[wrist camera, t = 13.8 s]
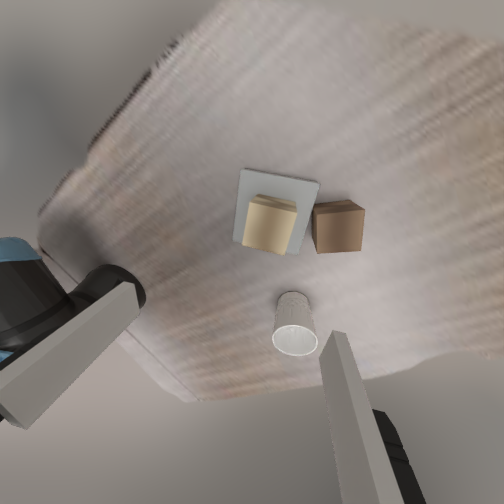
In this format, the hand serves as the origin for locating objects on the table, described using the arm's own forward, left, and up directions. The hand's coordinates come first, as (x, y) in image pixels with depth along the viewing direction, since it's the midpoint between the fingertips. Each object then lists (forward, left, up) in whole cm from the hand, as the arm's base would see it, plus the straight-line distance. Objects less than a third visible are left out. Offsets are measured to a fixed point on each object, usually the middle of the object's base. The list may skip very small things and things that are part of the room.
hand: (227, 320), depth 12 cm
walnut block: (+11, +2, -25) cm, 27 cm away
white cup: (+10, -18, -25) cm, 32 cm away
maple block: (+1, +2, -21) cm, 21 cm away
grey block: (+1, +2, -25) cm, 25 cm away
